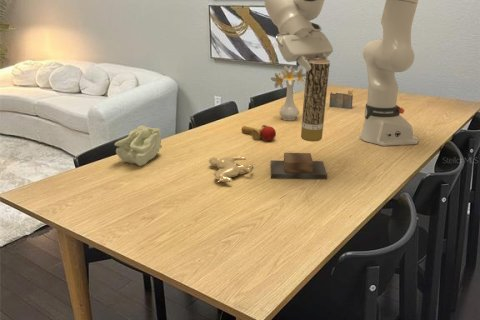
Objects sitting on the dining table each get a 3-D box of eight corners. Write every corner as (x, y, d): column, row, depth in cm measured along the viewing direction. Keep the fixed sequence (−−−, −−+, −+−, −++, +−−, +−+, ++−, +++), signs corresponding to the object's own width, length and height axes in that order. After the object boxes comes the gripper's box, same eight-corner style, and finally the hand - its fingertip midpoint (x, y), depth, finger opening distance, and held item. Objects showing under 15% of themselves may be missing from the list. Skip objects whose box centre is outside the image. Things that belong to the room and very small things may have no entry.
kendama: (236, 137, 178) (266, 142, 165) (237, 123, 177) (267, 126, 164) (249, 137, 183) (279, 141, 170) (250, 122, 182) (280, 125, 169)
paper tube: (323, 137, 137) (331, 59, 127) (320, 143, 131) (328, 62, 121) (302, 134, 138) (309, 58, 129) (298, 140, 132) (305, 61, 123)
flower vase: (267, 121, 196) (267, 68, 187) (287, 113, 209) (288, 62, 200) (291, 126, 188) (293, 70, 179) (310, 117, 202) (312, 65, 193)
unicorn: (232, 159, 151) (189, 168, 142) (232, 148, 149) (189, 157, 141) (264, 178, 135) (218, 190, 127) (264, 167, 134) (218, 178, 125)
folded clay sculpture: (142, 183, 148) (129, 154, 136) (119, 166, 154) (105, 137, 142) (177, 152, 156) (169, 123, 145) (154, 137, 162) (144, 108, 151)
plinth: (322, 165, 144) (323, 151, 143) (326, 179, 133) (327, 164, 131) (270, 164, 146) (270, 151, 144) (270, 178, 134) (271, 163, 133)
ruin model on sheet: (351, 108, 218) (353, 90, 215) (350, 110, 216) (352, 91, 212) (330, 106, 223) (332, 88, 220) (329, 107, 221) (330, 89, 217)
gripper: (279, 27, 120) (302, 65, 117) (323, 25, 133) (345, 59, 130) (267, 41, 125) (290, 78, 122) (311, 38, 138) (332, 72, 134)
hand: (319, 68), depth 126 cm, fingers closed on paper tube, 7 cm apart
